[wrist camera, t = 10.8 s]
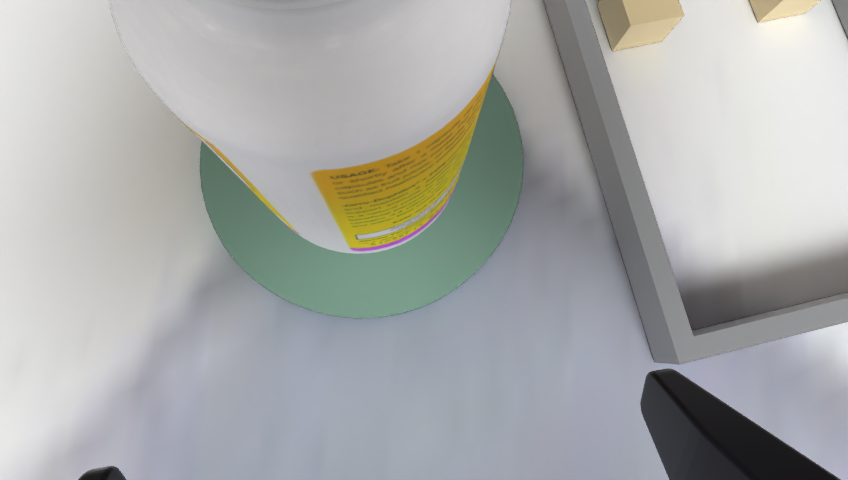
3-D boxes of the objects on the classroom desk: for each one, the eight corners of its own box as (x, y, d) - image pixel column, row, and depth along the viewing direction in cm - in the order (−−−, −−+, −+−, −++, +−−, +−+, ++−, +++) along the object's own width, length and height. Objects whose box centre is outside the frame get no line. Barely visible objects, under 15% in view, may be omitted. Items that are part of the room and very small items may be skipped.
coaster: (555, 277, 18) (560, 275, 17) (234, 352, 17) (228, 352, 16) (476, -3, 20) (479, -13, 19) (185, 51, 19) (177, 41, 18)
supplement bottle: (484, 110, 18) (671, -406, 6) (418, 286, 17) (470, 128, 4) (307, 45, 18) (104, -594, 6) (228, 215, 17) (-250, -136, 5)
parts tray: (969, 283, 18) (1022, 277, 17) (654, 362, 17) (679, 364, 16) (817, -76, 21) (850, -109, 20) (535, -25, 20) (547, -56, 18)
